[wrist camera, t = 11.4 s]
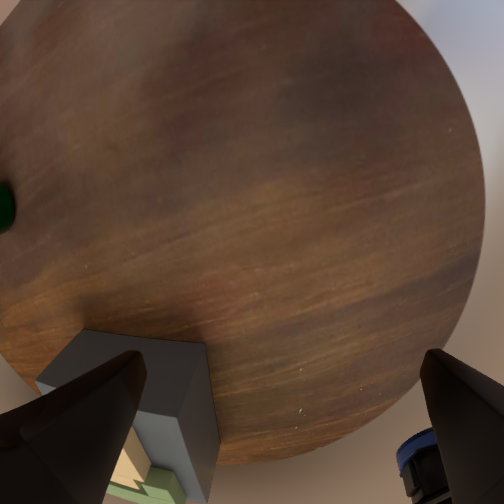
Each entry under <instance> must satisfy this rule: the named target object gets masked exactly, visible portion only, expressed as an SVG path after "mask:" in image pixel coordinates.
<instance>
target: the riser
mask: <svg viewBox="0 0 504 504" xmlns="http://www.w3.org/2000/svg"><path fill="white" fill-rule="evenodd" d="M129 349H131V350H139V351H140V352H141V353H142V355H143V358H144V362H145V365H146V368H147V379H146V382H145V385H144V389H143V392H142V396H141V400H140V403H139V407H138V410H137V414H136V416H135V419H134V421H133V424H132V426H131V427H133V428H134V430H135V432H136V434H137V436H138V438H139V440H140V442H141V444H142V446H143V448H144V450H145V452H146V454H147V456H148V458H149V460H150V462H151V466H150V467H154V468H159V469H163V470H168V471H173V472H174V473H175V475H176V477H177V479H178V482H179V484H180V485H181V487H182V489H183V491H184V493H185V495H186V497H187V498H186V500H187V501H193V502H199V503H205V504H207V502H208V498H209V493H210V489H211V484H212V480H213V475H214V471H215V466H216V462H217V457H218V453H219V448H220V438H219V433H218V427H217V421H216V415H215V409H214V402H213V396H212V390H211V383H210V376H209V369H208V362H207V354H206V347H205V344H204V343H192V342H180V341H169V340H159V339H150V338H142V337H134V336H126V335H119V334H112V333H105V332H98V331H92V330H86V329H82V330H81V331H80V332H79V333H78V334H77V335H76V336H75V338H74V339H73V340H72V341H71V342H70V343H69V344H68V345H67V346H66V347H65V348H64V349H63V350H62V351H61V352H60V353H59V354H58V355H57V356H56V357H55V359H54V360H53V361H52V362H51V363H50V364H49V365H48V366H47V367H46V368H45V369H44V370H43V372H42V373H41V374H40V375H39V376H38V377H37V378H36V379H35V382H36V384H37V386H38V388H39V390H40V392H41V394H42V395H45V394H47V393H49V392H51V391H52V390H54V389H56V388H58V387H60V386H62V385H64V384H66V383H68V382H69V381H71V380H73V379H75V378H77V377H79V376H81V375H83V374H84V373H86V372H88V371H90V370H92V369H94V368H96V367H97V366H99V365H101V364H103V363H105V362H107V361H108V360H110V359H112V358H114V357H116V356H118V355H119V354H121V353H123V352H125V351H127V350H129Z"/></svg>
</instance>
